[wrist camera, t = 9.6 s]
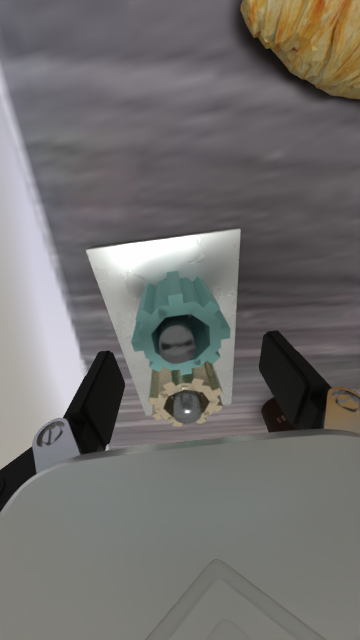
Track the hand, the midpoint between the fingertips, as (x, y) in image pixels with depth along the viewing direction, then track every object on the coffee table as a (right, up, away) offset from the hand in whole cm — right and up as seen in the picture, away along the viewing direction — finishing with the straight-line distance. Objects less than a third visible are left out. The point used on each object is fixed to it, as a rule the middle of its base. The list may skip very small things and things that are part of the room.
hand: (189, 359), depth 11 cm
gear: (-1, +4, +6) cm, 7 cm away
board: (-1, 0, +9) cm, 9 cm away
